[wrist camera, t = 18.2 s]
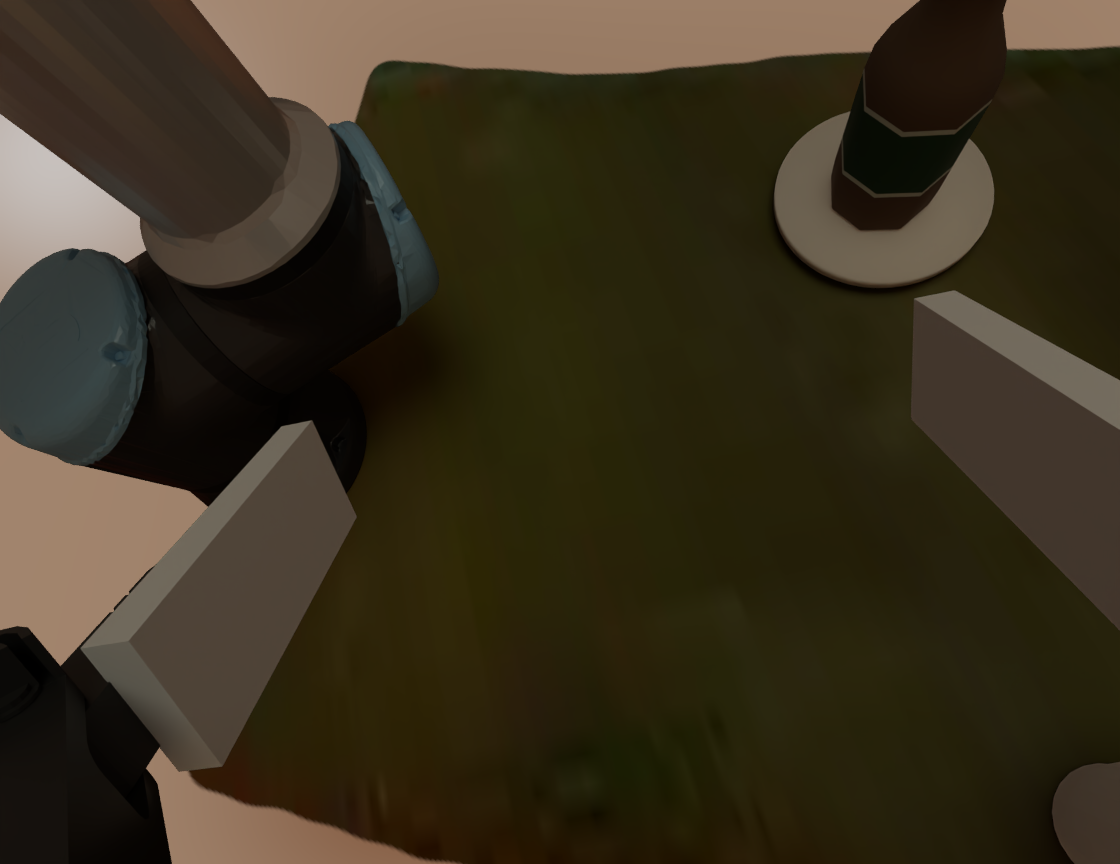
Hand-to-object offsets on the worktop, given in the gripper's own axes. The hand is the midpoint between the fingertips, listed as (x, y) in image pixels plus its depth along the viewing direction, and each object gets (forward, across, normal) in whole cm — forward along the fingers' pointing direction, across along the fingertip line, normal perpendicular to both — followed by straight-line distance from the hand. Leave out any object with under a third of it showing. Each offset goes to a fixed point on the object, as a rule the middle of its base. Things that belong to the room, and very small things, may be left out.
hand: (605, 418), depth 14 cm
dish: (+43, +22, -7) cm, 49 cm away
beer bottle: (+42, +22, -6) cm, 48 cm away
